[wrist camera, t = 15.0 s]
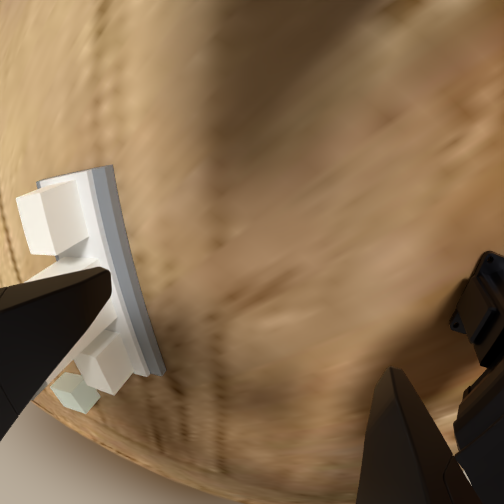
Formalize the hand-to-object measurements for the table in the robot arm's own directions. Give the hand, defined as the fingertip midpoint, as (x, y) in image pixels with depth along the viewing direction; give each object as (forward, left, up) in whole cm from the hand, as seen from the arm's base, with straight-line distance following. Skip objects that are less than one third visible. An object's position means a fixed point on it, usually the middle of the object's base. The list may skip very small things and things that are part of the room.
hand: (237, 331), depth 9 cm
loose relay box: (+24, +34, -13) cm, 44 cm away
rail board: (+17, +12, -13) cm, 25 cm away
